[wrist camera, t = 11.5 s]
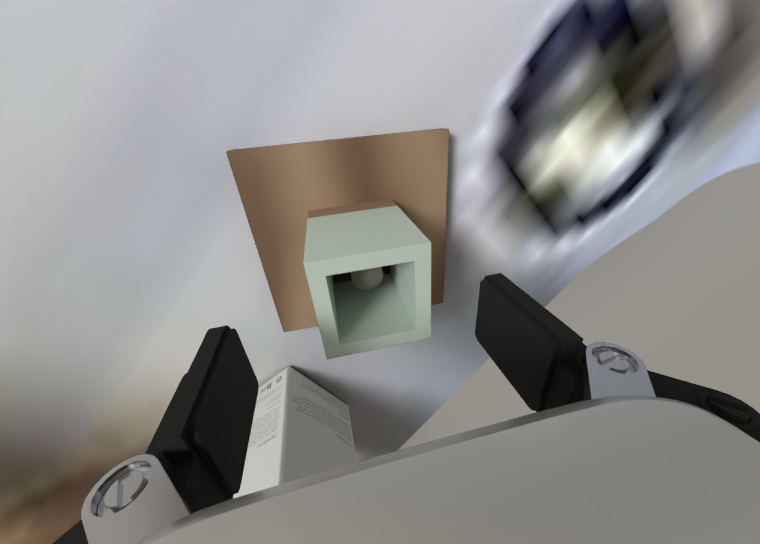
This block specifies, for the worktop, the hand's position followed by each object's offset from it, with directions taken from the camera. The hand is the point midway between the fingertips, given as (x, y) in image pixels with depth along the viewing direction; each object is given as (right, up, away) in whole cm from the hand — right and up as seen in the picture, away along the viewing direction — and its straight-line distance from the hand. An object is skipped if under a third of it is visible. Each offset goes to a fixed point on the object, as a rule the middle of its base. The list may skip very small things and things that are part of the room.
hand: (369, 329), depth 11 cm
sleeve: (-1, +4, +7) cm, 8 cm away
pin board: (-1, +5, +8) cm, 9 cm away
